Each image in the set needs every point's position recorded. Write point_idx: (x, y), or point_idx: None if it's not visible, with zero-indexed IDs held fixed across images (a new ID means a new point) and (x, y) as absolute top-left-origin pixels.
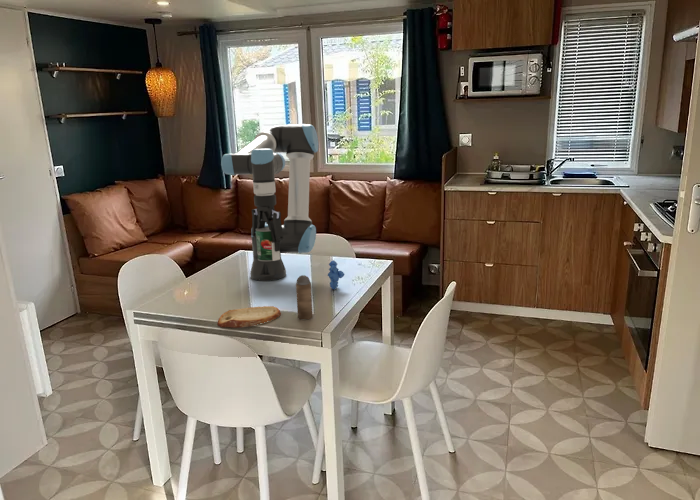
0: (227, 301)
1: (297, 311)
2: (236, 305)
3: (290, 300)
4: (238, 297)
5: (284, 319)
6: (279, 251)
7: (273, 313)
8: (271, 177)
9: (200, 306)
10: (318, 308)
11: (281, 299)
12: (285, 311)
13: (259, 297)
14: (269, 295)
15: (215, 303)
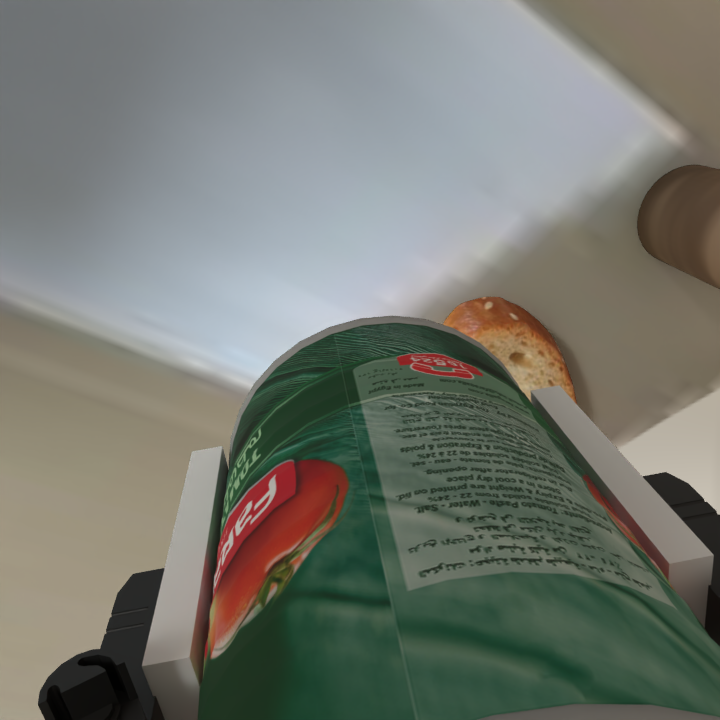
0: (53, 469)
1: (677, 268)
2: (174, 453)
3: (325, 106)
4: (3, 383)
5: (611, 333)
6: (611, 444)
7: (550, 380)
8: None
9: (56, 612)
10: (633, 37)
11: (254, 151)
12: (503, 261)
13: (97, 264)
14: (94, 177)
15: (50, 535)
